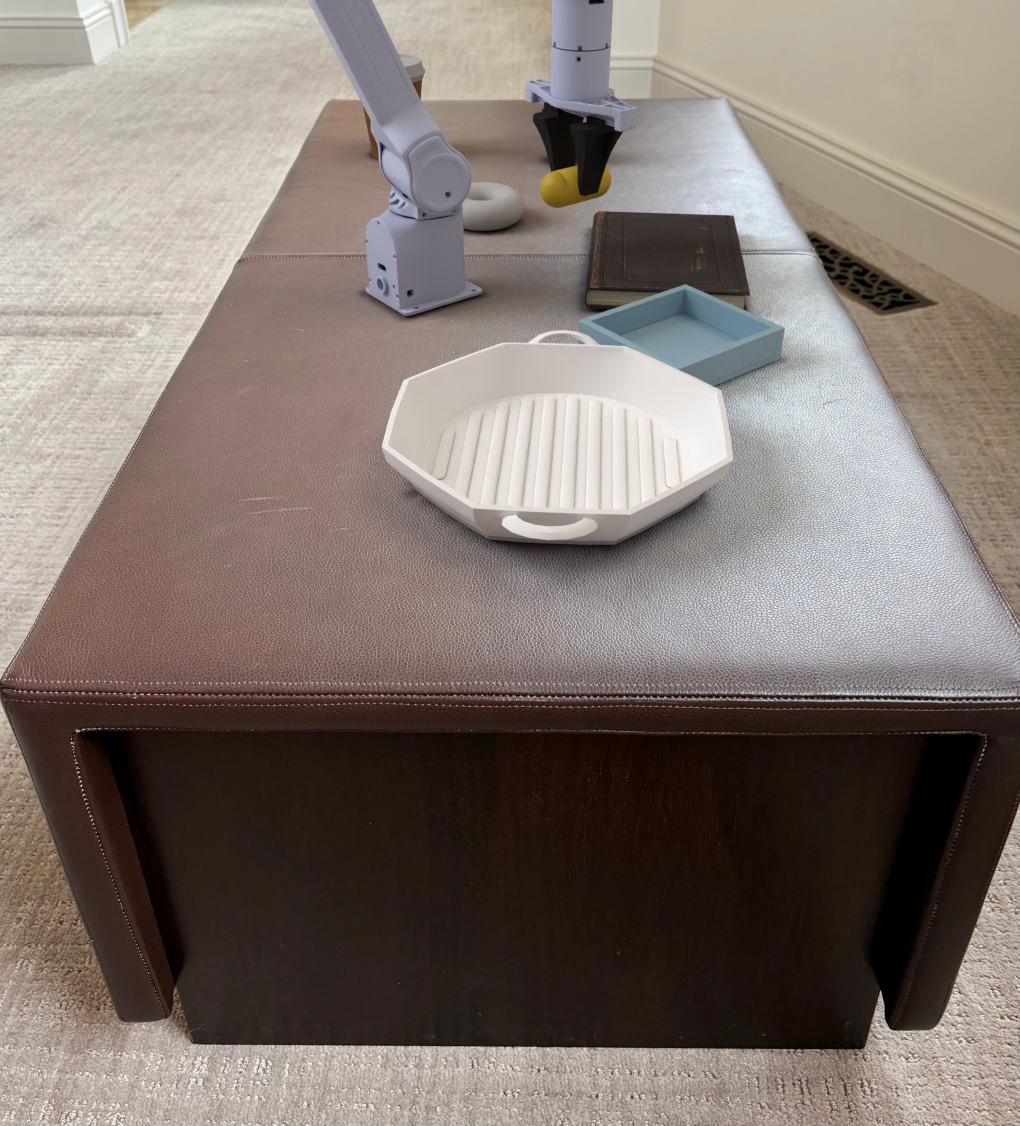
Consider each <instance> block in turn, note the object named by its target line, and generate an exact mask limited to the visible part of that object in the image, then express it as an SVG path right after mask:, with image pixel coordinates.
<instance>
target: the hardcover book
mask: <svg viewBox="0 0 1020 1126" xmlns="http://www.w3.org/2000/svg"><path fill="white" fill-rule="evenodd" d="M587 263H588V264H587V271H586V281H585V289H584V297H583V299H584V304H585V307H587V308H588V309H590V310H605V311H608V310H611V309H614V308H617V307H620V306H623V305H626V304H629V303H632V302H635V301H638V300H641V299H644V298H646V297H649V296H652V295H655V294H658V293H661V292H664V291H667V290H670V289H673V288H676V287H679V286H682V285H685V284H686V285H688V286H691V287H693V288H695V289H697V290H700V291H702V292H704V293H707V294H709V295H711V296H713V297H716V298H718V299H720V300H722V301H725V302H727V303H729V304H732V305H734V306H736V307H738V308H741V309H743V310H745V311H747V312H748V308H747V304H746V297H751V291H750V287H749V282H748V277H747V272H746V268H745V263H744V257H743V254H742V248H741V244H740V238H739V234H738V229H737V225H736V219H735V215H733V214H731V215H730V214H701V213H700V214H699V213H672V212H638V211H637V212H635V211H610V210H609V211H605V210H599V211H597V212H596V213H594V215H593V219H592V226H591V236H590V244H589V254H588V262H587Z"/></svg>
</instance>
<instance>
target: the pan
mask: <svg viewBox="0 0 1020 1126" xmlns="http://www.w3.org/2000/svg"><path fill="white" fill-rule="evenodd" d="M553 338H571V339H575V340H577V341H578V340H580V341H583V342H584V343H585V344H578V343H557V342H553V343H551V342H545V341H548V340H551V339H553ZM724 400H725V399H724V397H723V392H722V390H721V389H719V388H717V387H715V386H711V385H709V384H707V383H705V382H703V381H701V380H699V379H697V378H695V377H693V376H691V375H689V374H686V373H684V372H682V371H680V370H678V369H676V368H673V367H671V366H669V365H667V364H665V363H663V362H661V361H658V360H656V359H654V358H652V357H650V356H647V355H645V354H643V353H640V352H638V351H636V350H634V349H631V348H629V347H627V346H611V345H599V344H598V343H597V342H596V341H595V340H593V339H592V338H591V337H590V336H588V335H585V334H582V333H580V332H579V331H574V330H567V329H561V330H560V329H559V330H550V331H546V332H543V333H539V334H538V335H536V336H535V337H534V338H532V339H531V340H530V341H528V342H501V343H498V344H494V345H492V346H489V347H486V348H483V349H480V350H477V351H475V352H471V353H469V354H467V355H464V356H461V357H458V358H456V359H453V360H450V361H447V362H445V363H443V364H440V365H438V366H435V367H433V368H430V369H427V370H425V371H422V372H420V373H418V374H415V375H413V376H410V377H408V378H405V379H403V380H402V383H401V386H400V388H399V391H398V393H397V396H396V398H395V400H394V403H393V406H392V409H391V411H390V414H389V418H388V422H387V424H386V428H385V433H384V437H383V440H382V444H381V449H382V453H383V456H384V458H385V461H386V463H387V464H388V465H389V466H391V467H392V468H393V469H394V470H395V471H396V472H398V473H399V474H400V475H401V476H402V477H403V478H405V479H406V480H407V481H408V482H409V483H411V484H412V488H413V489H414V490H416V491H417V492H418V493H419V494H421V495H422V496H423V497H424V498H426V499H427V500H428V501H429V502H430V503H432V504H433V505H435V506H436V507H437V508H439V509H440V510H442V511H443V512H444V513H445V514H447V515H448V516H450V517H452V518H453V519H455V520H456V521H457V522H458V523H460V524H462V525H464V526H465V527H467V528H468V529H470V530H472V531H474V532H475V533H477V534H478V535H480V536H482V537H484V538H485V539H487V540H492V541H493V540H494V541H505V542H516V543H533V544H534V543H535V544H554V545H595V546H596V545H604V546H605V545H607V546H608V545H611V546H612V545H613V546H615V545H617V544H619V543H621V542H623V541H625V540H627V539H630V538H631V537H634V536H636V535H638V534H640V533H642V532H644V531H646V530H648V529H649V528H651V527H653V526H655V525H657V524H658V523H660V522H662V521H664V520H666V519H668V518H670V517H672V516H673V515H675V514H677V513H679V512H680V511H682V510H684V509H685V508H687V507H689V506H690V505H691V504H693V503H694V502H696V501H697V500H699V499H700V497H701V495H703V494H704V493H705V492H706V491H708V490H709V489H711V488H712V487H713V486H715V485H716V484H717V483H718V482H720V481H721V480H722V479H724V478H725V477H727V476H728V475H729V472H730V469H731V467H732V465H733V463H734V452H733V443H732V437H731V431H730V427H729V420H728V415H727V408H726V403H725V401H724Z"/></svg>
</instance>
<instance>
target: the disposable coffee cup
mask: <svg viewBox="0 0 1020 1126" xmlns="http://www.w3.org/2000/svg"><path fill="white" fill-rule="evenodd" d="M398 54H399V57H400V59H401V61H402V63H403V65H404V67H405V69H406V71H407V73H408V75H409V77H410V79H411V81H412V84H413V86H414V88H415V90H416V92H417V94H418V96H419V98H420V100H421V101H422V90H423V89H422V87H423V79H424V77H425V74H426V69H425V67H424V66H423V61H422V58H420V57H419V56H416V55H412V54H407V53H398ZM362 109H363V113H364V119H365V125H366V130H367V133H368V139H369V144H370V149H371V154H372V156H373V157H374V158H375V159H379V154H378V146H377V143H376V140H375V138H374V136H373V134H372V132H371V120H370V118H369V116H368V114H367V112H366V110H365V108H364V106H363V105H362Z"/></svg>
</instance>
